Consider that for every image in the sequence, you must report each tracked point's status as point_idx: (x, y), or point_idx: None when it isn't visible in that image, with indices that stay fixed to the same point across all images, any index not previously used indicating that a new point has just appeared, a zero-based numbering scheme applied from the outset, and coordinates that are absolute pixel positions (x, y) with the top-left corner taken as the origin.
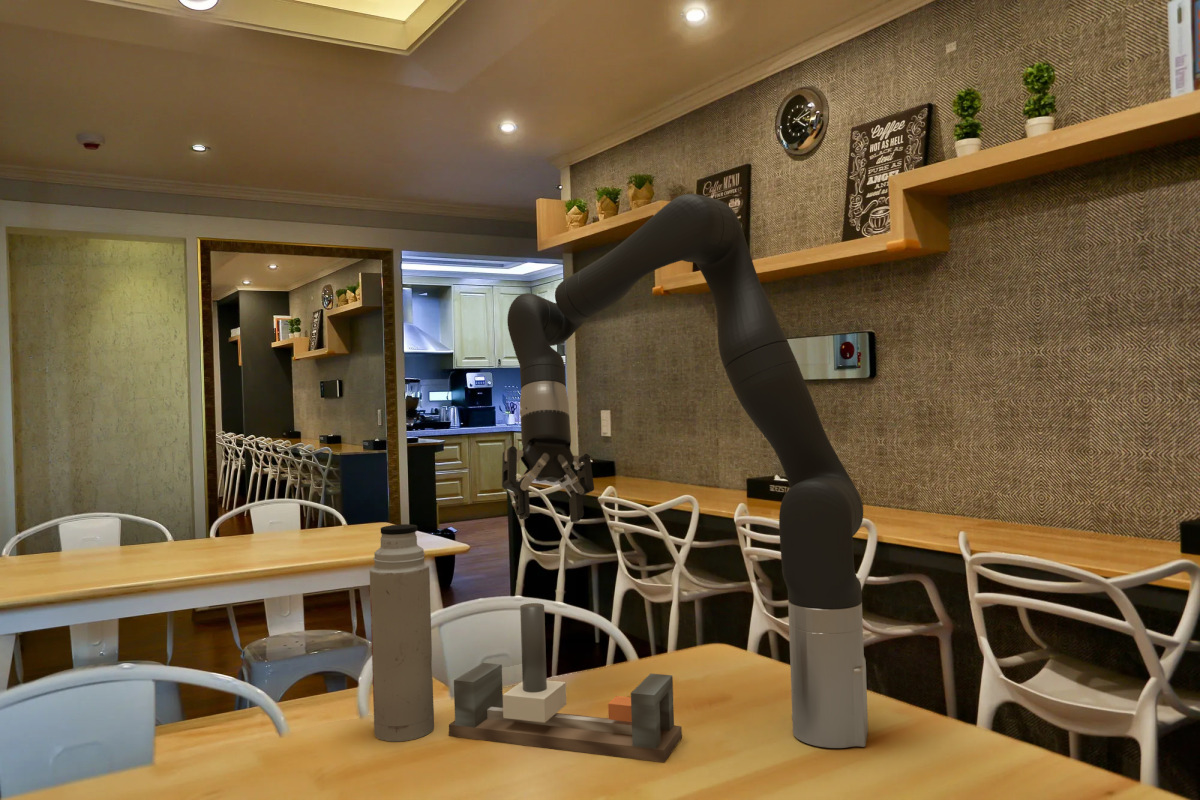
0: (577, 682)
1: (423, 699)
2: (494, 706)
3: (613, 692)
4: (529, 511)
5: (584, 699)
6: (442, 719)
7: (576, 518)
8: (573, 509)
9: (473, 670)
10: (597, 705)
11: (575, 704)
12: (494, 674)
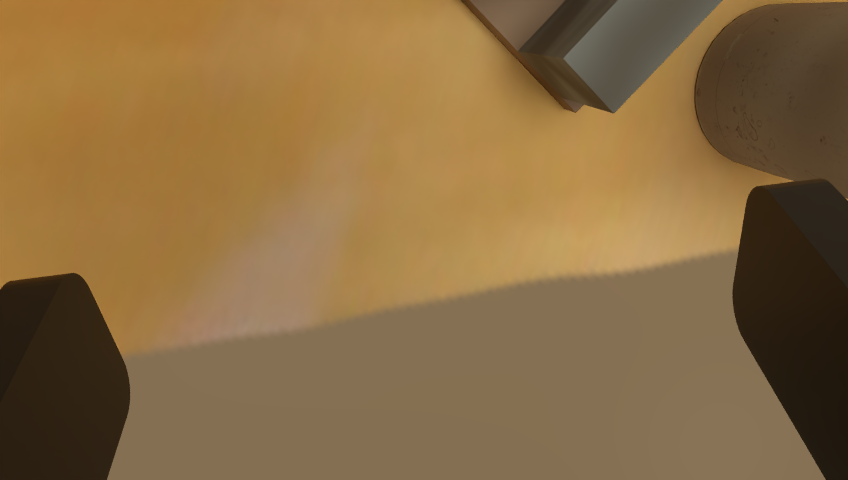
0: (192, 260)
1: (801, 17)
2: (563, 10)
3: (105, 109)
4: (786, 203)
5: (223, 89)
6: (659, 124)
7: (78, 287)
8: (60, 432)
9: (671, 37)
10: (201, 12)
11: (267, 58)
12: (596, 14)
